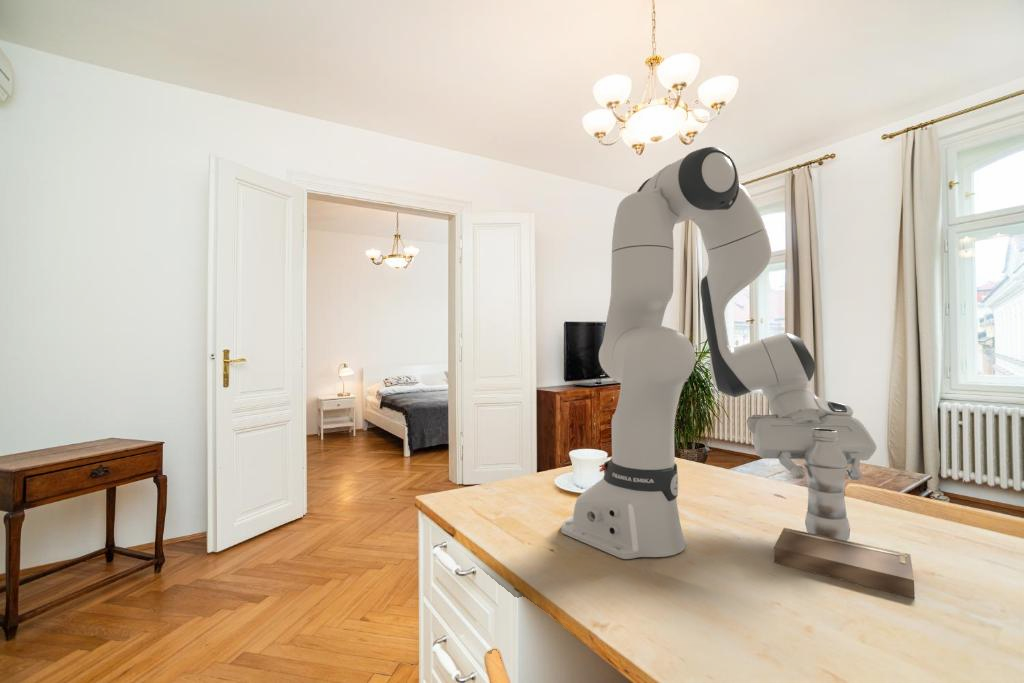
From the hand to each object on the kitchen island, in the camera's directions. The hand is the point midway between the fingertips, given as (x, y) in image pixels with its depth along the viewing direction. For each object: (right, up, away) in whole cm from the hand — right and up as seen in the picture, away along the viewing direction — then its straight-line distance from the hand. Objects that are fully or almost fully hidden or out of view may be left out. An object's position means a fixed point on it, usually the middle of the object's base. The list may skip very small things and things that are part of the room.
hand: (827, 477), depth 80 cm
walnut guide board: (-4, -11, -9) cm, 15 cm away
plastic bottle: (0, -12, 0) cm, 12 cm away
